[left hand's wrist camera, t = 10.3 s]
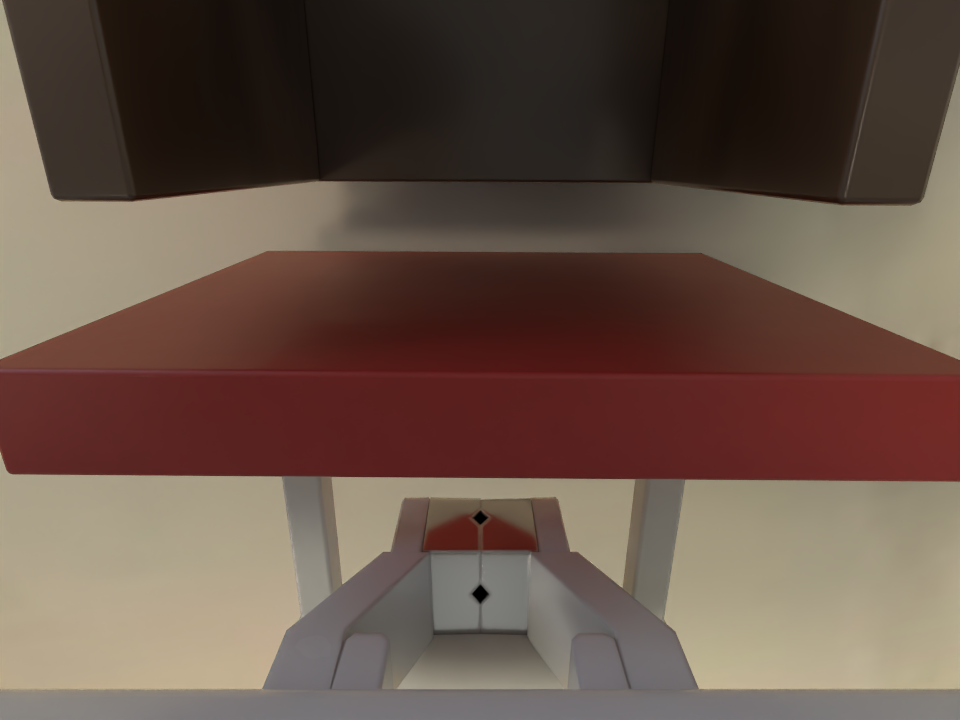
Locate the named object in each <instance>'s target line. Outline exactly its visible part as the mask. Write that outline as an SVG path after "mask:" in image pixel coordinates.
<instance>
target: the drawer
mask: <svg viewBox="0 0 960 720" xmlns="http://www.w3.org/2000/svg"><path fill="white" fill-rule="evenodd" d="M2 2H3V6H4V10H5V13H6V17H7V21H8V25H9V29H10V33H11V37H12V41H13V45H14V49H15V53H16V57H17V61H18V65H19V69H20V73H21V77H22V81H23V85H24V89H25V93H26V97H27V101H28V105H29V108H30V112H31V116H32V120H33V124H34V128H35V132H36V136H37V140H38V144H39V148H40V152H41V156H42V160H43V164H44V168H45V172H46V176H47V180H48V184H49V188H50V192H51V195H52V196H53V198H54V199H57V200H60V201H127V202H133V201H142V200H151V199H160V198H170V197H179V196H188V195H197V194H206V193H215V192H225V191H234V190H243V189H252V188H261V187H271V186H280V185H289V184H298V183H307V182H316V181H362V182H561V183H657V184H666V185H674V186H683V187H691V188H700V189H708V190H717V191H725V192H734V193H743V194H751V195H760V196H768V197H777V198H785V199H794V200H802V201H811V202H819V203H828V204H837V205H914V204H917V203H919V202H921V201H922V199H923V198H924V194H925V191H926V187H927V183H928V180H929V176H930V172H931V169H932V165H933V161H934V158H935V154H936V150H937V146H938V143H939V139H940V135H941V132H942V128H943V124H944V121H945V117H946V113H947V110H948V106H949V102H950V98H951V95H952V91H953V87H954V84H955V80H956V76H957V73H958V69H959V65H960V0H2ZM0 452H1V455H2V458H3V461H4V464H5V467H6V470H7V471H8V472H9V473H10V474H43V475H174V476H282V479H283V487H284V494H285V501H286V508H287V516H288V523H289V530H290V538H291V545H292V552H293V559H294V567H295V574H296V581H297V588H298V596H299V603H300V610H301V617H300V619H301V618H303V617H304V616H305V615H306V614H308V613H309V612H310V611H311V610H312V609H314V608H315V607H316V606H317V605H319V604H320V603H321V602H322V601H324V600H325V599H326V598H327V597H328V596H330V595H331V594H332V593H333V592H335V591H336V590H337V589H338V588H340V587H341V586H342V578H341V569H340V559H339V549H338V539H337V529H336V520H335V510H334V500H333V490H332V480H331V477H436V478H567V479H636V480H635V488H634V497H633V505H632V514H631V522H630V531H629V539H628V548H627V556H626V565H625V573H624V582H623V589H624V590H625V591H626V592H627V593H629V594H630V595H631V596H632V597H634V598H635V599H636V600H637V601H638V602H640V603H641V604H642V605H643V606H645V607H646V608H647V609H648V610H649V611H651V612H652V613H653V614H654V615H656V616H657V617H658V618H659V619H661V620H662V621H663V622H664V623H665V621H664V614H665V607H666V601H667V594H668V587H669V581H670V574H671V568H672V561H673V555H674V548H675V542H676V535H677V529H678V522H679V516H680V509H681V503H682V496H683V490H684V483H685V479H698V480H829V481H960V360H958V359H955V358H953V357H950V356H948V355H945V354H943V353H941V352H938V351H936V350H933V349H931V348H929V347H926V346H924V345H921V344H919V343H917V342H914V341H912V340H909V339H907V338H904V337H902V336H900V335H897V334H895V333H892V332H890V331H888V330H885V329H883V328H880V327H878V326H875V325H873V324H871V323H868V322H866V321H863V320H861V319H859V318H856V317H854V316H851V315H849V314H847V313H844V312H842V311H839V310H837V309H834V308H832V307H830V306H827V305H825V304H822V303H820V302H818V301H815V300H813V299H810V298H808V297H805V296H803V295H801V294H798V293H796V292H793V291H791V290H789V289H786V288H784V287H781V286H779V285H777V284H774V283H772V282H769V281H767V280H764V279H762V278H760V277H757V276H755V275H752V274H750V273H748V272H745V271H743V270H740V269H738V268H736V267H733V266H731V265H728V264H726V263H723V262H721V261H719V260H716V259H714V258H711V257H709V256H707V255H704V254H702V253H548V252H370V251H267V252H264V253H262V254H259V255H257V256H254V257H252V258H249V259H247V260H244V261H242V262H239V263H237V264H234V265H232V266H230V267H227V268H225V269H222V270H220V271H217V272H215V273H212V274H210V275H207V276H205V277H202V278H200V279H198V280H195V281H193V282H190V283H188V284H185V285H183V286H180V287H178V288H175V289H173V290H170V291H168V292H165V293H163V294H161V295H158V296H156V297H153V298H151V299H148V300H146V301H143V302H141V303H138V304H136V305H133V306H131V307H129V308H126V309H124V310H121V311H119V312H116V313H114V314H111V315H109V316H106V317H104V318H101V319H99V320H97V321H94V322H92V323H89V324H87V325H84V326H82V327H79V328H77V329H74V330H72V331H69V332H67V333H64V334H62V335H60V336H57V337H55V338H52V339H50V340H47V341H45V342H42V343H40V344H37V345H35V346H32V347H30V348H28V349H25V350H23V351H20V352H18V353H15V354H13V355H10V356H8V357H5V358H3V359H0ZM300 619H299V620H300ZM665 624H666V623H665ZM397 689H564V688H563V686H562V685H561V683H560V682H559V681H558V679H557V678H556V677H555V675H554V674H553V673H552V671H551V670H550V668H549V667H548V666H547V664H546V663H545V662H544V660H543V659H542V658H541V656H540V655H539V653H538V652H537V651H536V649H535V648H534V647H533V645H532V644H531V642H530V641H529V640H528V638H527V635H499V634H458V635H434V639H433V640H432V641H431V643H430V644H429V646H428V647H427V648H426V650H425V651H424V652H423V654H422V655H421V656H420V658H419V659H418V661H417V662H416V663H415V665H414V666H413V667H412V669H411V670H410V671H409V673H408V674H407V675H406V677H405V678H404V680H403V681H402V682H401V684H400V685H399V686H398V688H397Z"/></svg>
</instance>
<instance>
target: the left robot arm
mask: <svg viewBox="0 0 960 720" xmlns="http://www.w3.org/2000/svg"><path fill="white" fill-rule="evenodd" d="M458 634H499V635H527V638H528V640H529V641H530V642H531V644H532V645H533V647H534V648H535V649H536V651H537V652H538V653H539V655H540V656H541V658H542V659H543V660H544V662H545V663H546V664H547V666H548V667H549V668H550V670H551V671H552V673H553V674H554V675H555V677H556V678H557V679H558V681H559V682H560V683H561V685H562V686H563V688H564V689H397V688H398V686H399V685H400V684H401V682H402V681H403V680H404V678H405V677H406V675H407V674H408V673H409V671H410V670H411V669H412V667H413V666H414V665H415V663H416V662H417V661H418V659H419V658H420V656H421V655H422V654H423V652H424V651H425V650H426V648H427V647H428V646H429V644H430V643H431V641H432V640H433V639H434V635H458ZM0 720H960V689H699V688H698V686H697V683H696V681H695V679H694V676H693V674H692V671H691V669H690V666H689V664H688V661H687V659H686V657H685V654H684V652H683V649H682V647H681V644H680V642H679V640H678V637H677V635H676V632H675V631H674V630H673V629H672V628H670V627H669V626H668V625H667V624H665V623H664V622H663V621H662V620H661V619H659V618H658V617H657V616H656V615H654V614H653V613H652V612H651V611H649V610H648V609H647V608H646V607H645V606H643V605H642V604H641V603H640V602H638V601H637V600H636V599H635V598H634V597H632V596H631V595H630V594H629V593H627V592H626V591H625V590H624V589H622V588H621V587H620V586H619V585H618V584H616V583H615V582H614V581H613V580H611V579H610V578H609V577H608V576H606V575H605V574H604V573H603V572H602V571H600V570H599V569H598V568H597V567H595V566H594V565H593V564H592V563H591V562H589V561H588V560H587V559H586V558H584V557H583V556H582V555H581V554H579V553H578V552H570V549H569V545H568V540H567V536H566V532H565V528H564V523H563V519H562V515H561V510H560V506H559V502H558V499H557V498H556V497H545V498H531V499H473V498H431V499H430V498H429V497H423V498H404V500H403V501H402V504H401V509H400V513H399V518H398V522H397V526H396V531H395V535H394V539H393V544H392V548H391V552H383V553H381V554H380V555H379V556H378V557H376V558H375V559H374V560H373V561H372V562H370V563H369V564H368V565H367V566H365V567H364V568H363V569H362V570H360V571H359V572H358V573H357V574H356V575H354V576H353V577H352V578H351V579H349V580H348V581H347V582H346V583H344V584H343V585H342V586H341V587H340V588H338V589H337V590H336V591H335V592H333V593H332V594H331V595H330V596H328V597H327V598H326V599H325V600H324V601H322V602H321V603H320V604H319V605H317V606H316V607H315V608H314V609H312V610H311V611H310V612H309V613H308V614H306V615H305V616H304V617H303V618H301V619H300V620H299V621H298V622H296V623H295V624H294V625H293V626H292V627H290V628H289V629H288V630H287V631H286V633H285V635H284V638H283V640H282V643H281V645H280V648H279V650H278V652H277V655H276V657H275V660H274V662H273V664H272V667H271V669H270V672H269V674H268V676H267V679H266V681H265V684H264V686H263V689H0Z"/></svg>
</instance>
